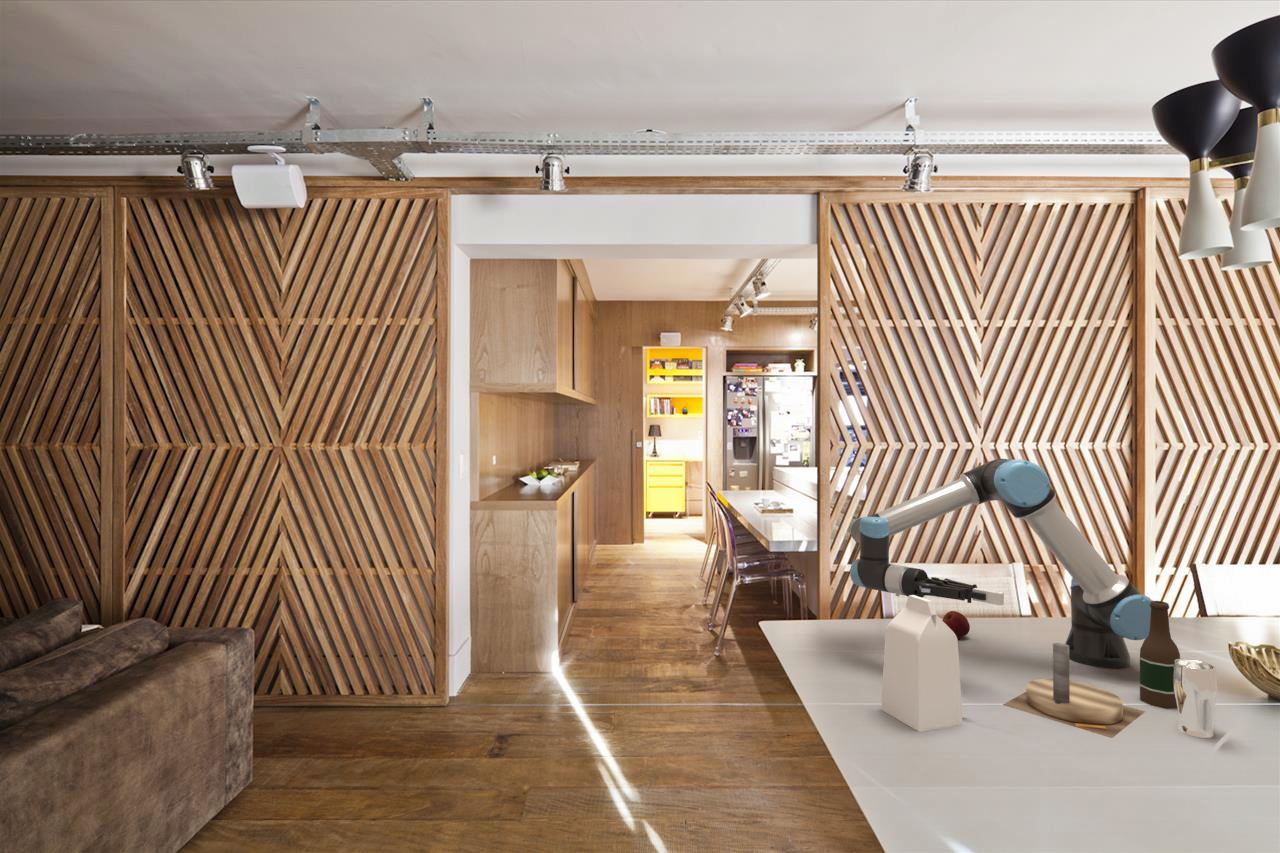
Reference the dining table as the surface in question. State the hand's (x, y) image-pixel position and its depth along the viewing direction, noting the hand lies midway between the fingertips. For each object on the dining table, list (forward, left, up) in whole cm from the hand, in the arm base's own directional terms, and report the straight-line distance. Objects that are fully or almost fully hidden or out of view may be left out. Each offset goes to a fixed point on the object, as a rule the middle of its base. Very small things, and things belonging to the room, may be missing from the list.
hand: (1002, 599), depth 155 cm
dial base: (-6, +12, -24) cm, 28 cm away
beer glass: (-13, +32, -24) cm, 42 cm away
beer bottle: (-26, +23, -24) cm, 42 cm away
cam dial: (-6, +12, -23) cm, 27 cm away
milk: (+22, -8, -24) cm, 34 cm away
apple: (-42, -32, -24) cm, 57 cm away
